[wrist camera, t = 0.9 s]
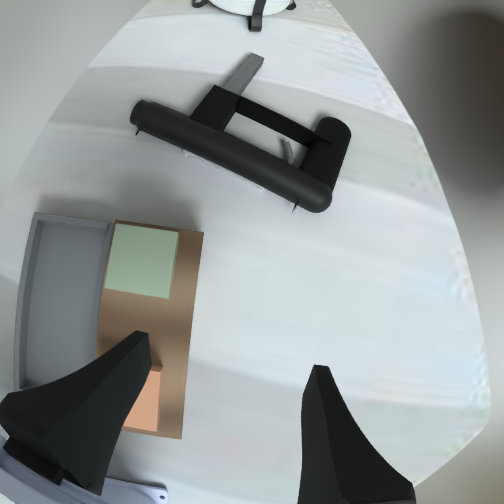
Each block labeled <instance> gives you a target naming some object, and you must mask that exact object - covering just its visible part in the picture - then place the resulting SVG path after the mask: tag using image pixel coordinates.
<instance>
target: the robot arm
mask: <svg viewBox="0 0 504 504" xmlns="http://www.w3.org/2000/svg"><path fill="white" fill-rule="evenodd" d="M151 367H152V360H151V352H150V343H149V334H148V333H146V332H142V331H138V330H136V331H134V332H133V333H131V334H130V335H129V336H127V337H126V338H125V339H123V340H122V341H121V342H119V343H118V344H117V345H115V346H114V347H113V348H111V349H110V350H108V351H107V352H106V353H104V354H103V355H101V356H100V357H98V358H97V359H95V360H94V361H92V362H91V363H89V364H87V365H86V366H84V367H82V368H81V369H79V370H77V371H75V372H73V373H71V374H69V375H67V376H65V377H63V378H60V379H58V380H55V381H53V382H50V383H48V384H45V385H42V386H38V387H35V388H31V389H27V390H23V391H18V392H12V393H8V394H7V395H6V397H5V398H4V399H3V400H2V402H1V403H0V424H1V426H2V427H3V428H4V430H5V431H6V432H7V433H8V435H9V436H10V437H9V439H8V440H6V439H5V438H4V437H3V436H1V435H0V492H1V493H2V494H3V495H5V496H6V497H7V498H9V499H10V500H11V501H13V502H14V503H16V504H168V491H167V490H166V489H165V488H159V487H153V486H147V485H141V484H135V483H130V482H125V481H120V480H116V479H111V478H107V477H106V473H107V470H108V466H109V463H110V460H111V456H112V453H113V450H114V447H115V445H116V442H117V439H118V436H119V434H120V431H121V429H122V426H123V424H124V422H125V420H126V418H127V416H128V414H129V412H130V411H131V409H132V407H133V405H134V403H135V401H136V400H137V398H138V396H139V394H140V392H141V390H142V389H143V387H144V385H145V383H146V380H147V377H148V375H149V372H150V369H151ZM301 430H302V471H301V480H300V489H299V496H298V503H297V504H416V497H415V491H414V488H413V484H412V483H411V482H410V481H408V480H407V479H406V478H405V477H403V476H402V475H401V474H400V473H398V472H397V471H396V470H395V469H394V468H393V467H392V466H391V465H390V464H389V463H387V461H386V460H385V459H384V458H383V457H382V456H381V455H380V454H379V453H378V452H377V451H376V449H375V448H374V447H373V446H372V445H371V443H370V442H369V441H368V439H367V438H366V437H365V435H364V434H363V432H362V431H361V430H360V428H359V426H358V425H357V423H356V422H355V420H354V418H353V417H352V415H351V413H350V411H349V410H348V408H347V406H346V404H345V402H344V400H343V398H342V396H341V394H340V392H339V390H338V388H337V385H336V383H335V381H334V378H333V376H332V374H331V371H330V368H329V367H328V366H322V365H314V366H313V369H312V371H311V374H310V377H309V379H308V382H307V385H306V387H305V390H304V393H303V398H302V410H301ZM161 496H164V497H161Z"/></svg>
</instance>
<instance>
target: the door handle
mask: <svg viewBox="0 0 504 504" xmlns="http://www.w3.org/2000/svg"><path fill="white" fill-rule="evenodd" d="M263 61H264V58H263V57H261V56H258V55H256V54H254V53H251V54H250V55H249V56H248V57H247V58H246V60H245V61H244V62H243V63H242V64H241V65H240V67H239V68H238V69H237V70H236V71H235V73H234V74H233V75H232V76H231V78H230V79H229V80H228V81H227V82H226V84H225V85H224V86H223V87H222V88H221V87H219V86H216V85H214V86H213V88H212V89H211V90H210V91H209V93H208V94H207V95H206V96H205V98H204V99H203V100H202V101H201V103H200V104H199V105H198V106H197V108H196V109H195V110H194V112H193V113H192V114H191V116H187V115H185V114H183V113H180V112H178V111H175V110H173V109H170V108H168V107H165V106H163V105H160V104H158V103H155V102H147V101H144V100H141V101H139V102H138V103H137V104H136V105H135V107H134V108H133V110H132V113H131V116H130V122H131V124H133V125H136V126H137V128H138V129H139V131H140V130H141V131H143V132H145V133H148V134H150V135H152V136H155V137H157V138H159V139H162V140H164V141H166V142H168V143H171V144H173V145H175V146H177V147H180V148H182V149H183V153H184V154H185V155H186V156H191V157H193V158H195V159H197V160H200V161H202V162H204V163H206V164H208V165H210V166H212V167H214V168H217V169H219V170H221V171H223V172H225V173H227V174H229V175H231V176H233V177H235V178H237V179H239V180H241V181H243V182H245V183H248V184H250V185H252V186H254V187H256V188H258V189H260V190H262V191H265V190H266V189H267V190H269V191H271V192H273V193H275V194H277V195H279V196H281V197H283V198H285V199H287V200H289V201H291V202H293V203H295V206H296V207H297V205H298V206H300V207H302V208H304V209H306V210H308V211H310V212H313V213H320V212H323V211H325V210H326V209H327V208H328V207H329V206H330V204H331V202H332V192H333V189H334V187H335V184H336V181H337V178H338V175H339V172H340V169H341V166H342V163H343V160H344V157H345V154H346V151H347V148H348V145H349V142H350V139H351V131H350V129H349V128H348V126H347V125H346V124H345V123H343V122H342V121H340V120H339V119H336V118H333V117H325V118H322V119H321V120H320V122H319V124H318V126H317V129H316V131H315V132H313V131H311V130H309V129H308V128H306V127H304V126H302V125H300V124H298V123H296V122H294V121H292V120H290V119H288V118H286V117H284V116H282V115H280V114H278V113H276V112H274V111H272V110H270V109H268V108H266V107H264V106H262V105H260V104H257V103H255V102H253V101H251V100H249V99H246V98H244V97H242V96H240V95H241V94H242V92H243V91H244V90H245V88H246V87H247V85H248V84H249V83H250V81H251V80H252V78H253V77H254V76H255V74H256V73H257V72H258V70H259V69H260V67H261V66H262V64H263ZM235 112H237V113H239V114H241V115H243V116H246V117H248V118H250V119H252V120H254V121H256V122H258V123H260V124H262V125H265V126H267V127H269V128H271V129H273V130H275V131H277V132H279V133H281V134H283V135H285V136H287V137H289V138H291V139H292V140H294V141H296V142H298V143H300V144H302V145H304V146H306V147H308V149H307V151H306V154H305V156H304V158H303V161H302V163H301V165H300V167H299V168H297V167H295V166H293V153H292V149H291V146H290V143H289V142H285V143H283V146H284V149H285V153H286V157H287V162H285V161H284V160H282V159H280V158H278V157H276V156H274V155H272V154H270V153H268V152H266V151H264V150H262V149H260V148H258V147H256V146H254V145H252V144H249V143H247V142H245V141H243V140H241V139H239V138H237V137H235V136H233V135H230V134H228V133H226V132H224V131H223V130H224V129H225V127H226V126H227V124H228V123H229V121H230V120H231V118H232V116H233V115H234V113H235ZM139 131H137V132H136V135H137V134H138V133H139ZM295 206H294V208H295ZM295 209H296V208H295ZM293 211H294V209H293ZM292 213H293V212H292ZM291 215H292V214H291Z"/></svg>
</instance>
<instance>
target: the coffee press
mask: <svg viewBox="0 0 504 504" xmlns="http://www.w3.org/2000/svg"><path fill="white" fill-rule="evenodd" d="M195 1H196V0H192V4H193V6H194V7H195V8H199V7H202V6H203V5H205V4H206V3H208V2H211V3H212V4H214V5H215V6H217V7H219V8H221V9H223V10H226V11H229V12H232V13H236V14H241V15H248V28H249V31H256V32H260V31H261V29H262V16H266V15H272V14H276V13H278V12H281V11H282V10H284V9H285V8H286V9H288V10H293V9H295V8H296V4H295V2H294V0H293V3H292V4H291V5H289V3H290V1H291V0H202V1H201V2H198V3H195Z"/></svg>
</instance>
